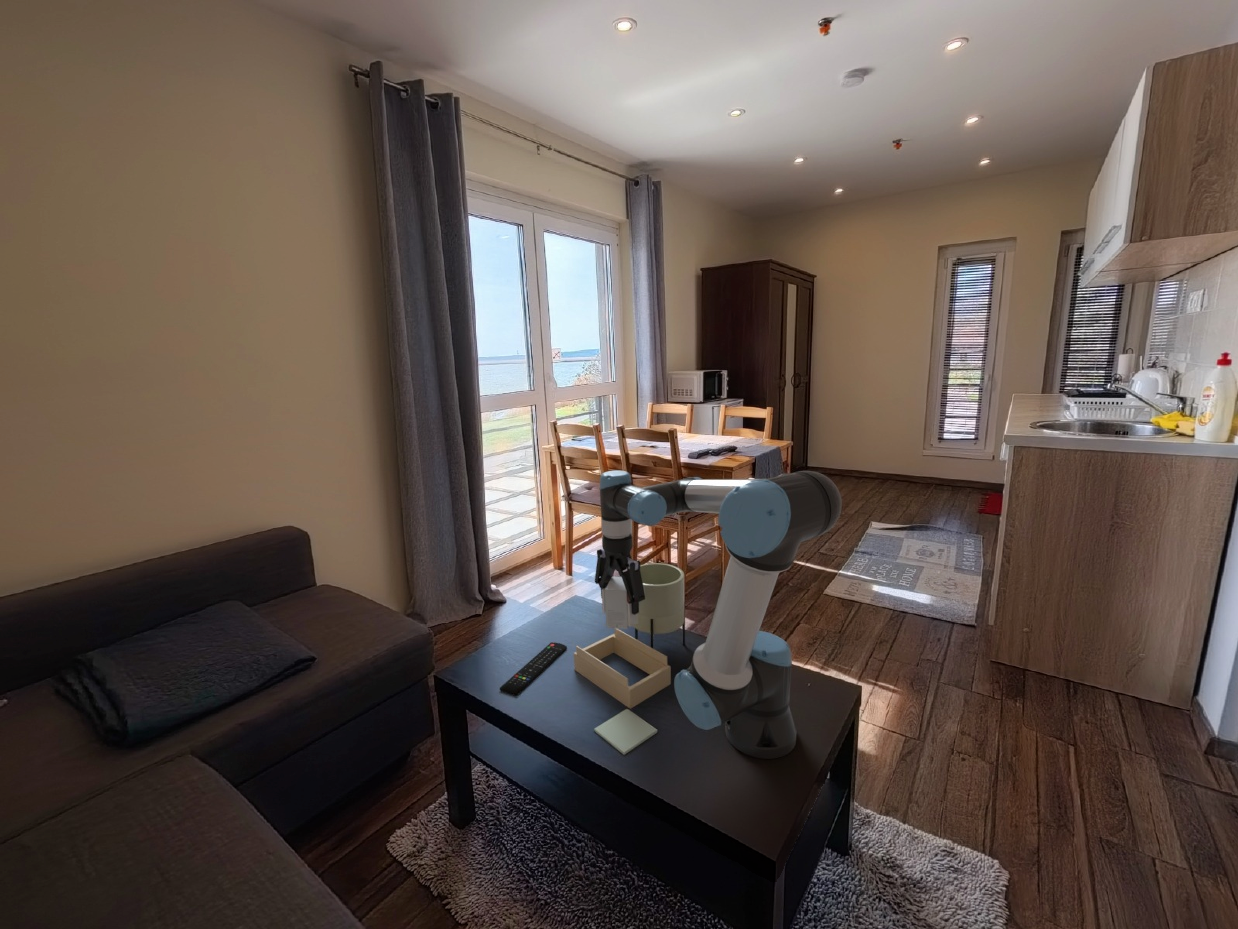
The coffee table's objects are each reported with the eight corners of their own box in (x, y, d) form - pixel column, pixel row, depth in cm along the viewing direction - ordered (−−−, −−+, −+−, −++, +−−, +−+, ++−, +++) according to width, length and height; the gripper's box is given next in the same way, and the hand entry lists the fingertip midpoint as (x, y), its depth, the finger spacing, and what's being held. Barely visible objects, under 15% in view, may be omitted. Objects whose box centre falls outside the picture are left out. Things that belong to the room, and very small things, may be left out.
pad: (657, 732, 122) (657, 729, 122) (624, 755, 115) (623, 752, 115) (627, 710, 129) (627, 708, 129) (594, 731, 123) (594, 728, 123)
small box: (628, 630, 134) (626, 590, 132) (605, 628, 135) (604, 589, 133) (633, 614, 142) (632, 577, 140) (612, 613, 143) (611, 575, 141)
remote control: (500, 692, 138) (499, 687, 138) (552, 645, 159) (552, 641, 159) (517, 698, 136) (516, 693, 135) (567, 649, 157) (567, 645, 156)
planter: (652, 629, 165) (651, 558, 160) (695, 648, 155) (695, 572, 150) (617, 649, 155) (615, 574, 150) (660, 671, 144) (659, 591, 139)
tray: (670, 684, 139) (670, 657, 137) (630, 709, 130) (629, 681, 128) (614, 649, 155) (613, 626, 153) (574, 669, 146) (573, 644, 144)
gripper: (659, 540, 128) (661, 628, 133) (600, 520, 144) (603, 599, 149) (636, 549, 123) (638, 639, 128) (578, 527, 139) (582, 608, 144)
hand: (619, 617), depth 138 cm, fingers closed on small box, 9 cm apart
